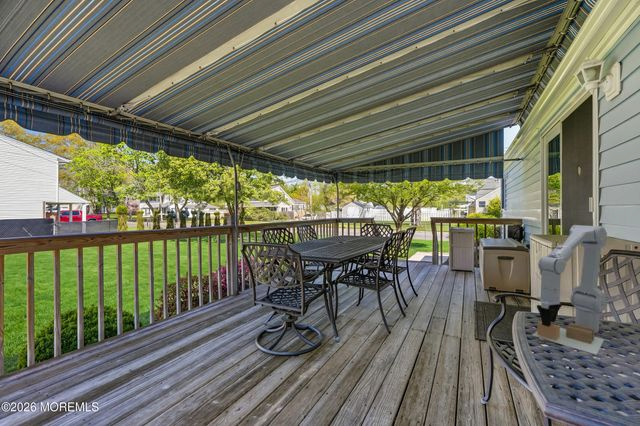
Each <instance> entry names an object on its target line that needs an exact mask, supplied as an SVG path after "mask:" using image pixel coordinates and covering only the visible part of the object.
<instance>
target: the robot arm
mask: <svg viewBox="0 0 640 426" xmlns="http://www.w3.org/2000/svg"><path fill="white" fill-rule="evenodd" d="M568 231H569V233H568V234H569V236H568V237H567V239H566V240H565V241H564V242H563V244H558V245H557V246H556V247H555V248H554V249H553V250H552V251H551V252H550V253H549V254H548V255H547V256H543V257H541V258H539V260H538V263H537V265H538V266H537V267H538V269H539V274H540V276H541V278H540V279H541V282H540V296H537V297H536V300H539V301H540V303H541V304H537V305H536V309H537V311H538V312H539V316H540V319H541V320H540V321H542V325H544V326H548V327H549V326H550V324H551V323H555V322H556V319H557V316H558V313H559V312H560V309H561V308H562V306H563V304H562V303H561V301H560V295H561V293H560V292H561V276H562V274H563V273H564V272H565V269H566V266H567V262H568V261H569V260H570V259H571V258H572V257H573V256H574V249H576V248H577V247H579V246H582V247H583V251H584V252H583V257H582V258H583V260H582V266H581V267H582V269H581V278H580V284H579V285H577V286H575V287H573V288H572V292H571V294H570V296H569V297H570V298H569V300H570V303H571V305H573V308H575V319H574V321H575V323H574V324H578V325H582V326H586V327H590V328H594V334H596V333H597V334H598V333H599V331H600V330H599V329H600V328H599V327H600V313H603V312H604V311H605V310H606V308H607V300H606V294H605V293H604V292H603V291H602V290H601V289H600V288H598V282H599V281H598V280H599V271H600V263H601V253H602V248H604V247H606V245H607V236H608V234H607V233H608V232H607V230H606V229H605V227H604V226H602V225H599V226H598V225H597V226H596V225H580V224H579V225H578V224H574V225H572V226H571V227H570V229H569V230H568Z"/></svg>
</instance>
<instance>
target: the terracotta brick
mask: <svg viewBox="0 0 640 426" xmlns="http://www.w3.org/2000/svg"><path fill="white" fill-rule="evenodd" d="M560 328H561V325H559V324H555V323H553V322H551V324H550V326H549V327H548V326H544V325H542V321H541V320H539V321H538V322H537V330H536V331H537V335H541V336H544V337H548V338H551V339H554V340H557V339H558V338H559V337H560Z"/></svg>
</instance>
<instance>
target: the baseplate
mask: <svg viewBox="0 0 640 426" xmlns="http://www.w3.org/2000/svg"><path fill="white" fill-rule="evenodd" d="M531 336H533V337H536V338H539V339H543V340H547V341H549V342H552V343H556V344H560V345H563V346H566V347H569V348H572V349H576V350H580V351H584V352H587V353H590V354H593V355H595V356H597V354H598V353H599V350H600V348H601V347H602V345H603V343H604V341H605V339H604V338H602V337H601V338H600V337H597V336H594V340H593V341H592V343H591V344H589V343H585V342H582V341H578V340H575V339H571V338H567V337H566V328H563V327H560V337H559V338H558V339H557V340H554V339H551V338H548V337H544V336H541V335H537V330H536V331H535V332H534V333H533V334H532V335H531Z"/></svg>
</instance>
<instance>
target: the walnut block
mask: <svg viewBox="0 0 640 426" xmlns="http://www.w3.org/2000/svg"><path fill="white" fill-rule="evenodd" d="M565 329H566V337H567V338H571V339H575V340H578V341H582V342H585V343H589V344H591V343H592V341H593V340H594V337H595V333H594V328H590V327H586V326H582V325H578V324H575V323H573V322H569V324H567V325H566V328H565Z"/></svg>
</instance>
